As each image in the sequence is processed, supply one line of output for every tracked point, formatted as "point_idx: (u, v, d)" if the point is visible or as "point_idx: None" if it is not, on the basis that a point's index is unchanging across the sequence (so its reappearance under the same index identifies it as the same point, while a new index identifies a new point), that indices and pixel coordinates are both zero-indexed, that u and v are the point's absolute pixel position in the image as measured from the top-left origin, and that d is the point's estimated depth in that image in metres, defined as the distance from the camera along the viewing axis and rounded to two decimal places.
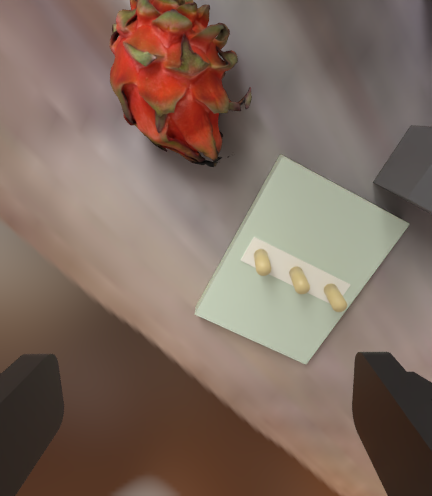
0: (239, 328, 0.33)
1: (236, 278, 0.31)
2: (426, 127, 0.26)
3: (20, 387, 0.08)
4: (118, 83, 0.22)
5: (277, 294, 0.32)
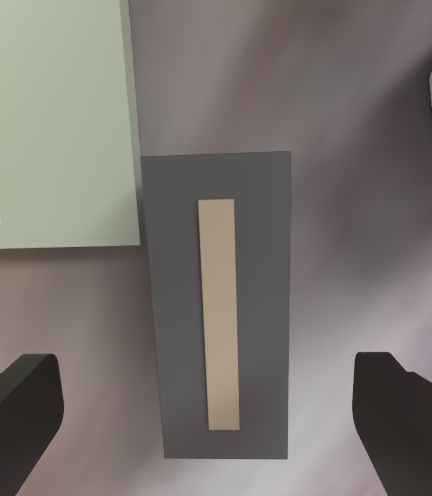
0: None
1: None
2: None
3: (20, 387, 0.08)
4: None
5: None
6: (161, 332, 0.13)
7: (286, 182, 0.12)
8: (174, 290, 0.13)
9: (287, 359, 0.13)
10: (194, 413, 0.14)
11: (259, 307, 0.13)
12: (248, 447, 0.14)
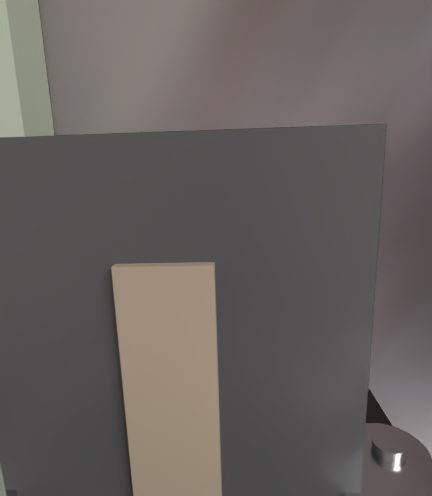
0: None
1: None
2: None
3: None
4: None
5: None
6: None
7: (367, 217, 0.04)
8: (64, 486, 0.05)
9: None
10: None
11: None
12: None
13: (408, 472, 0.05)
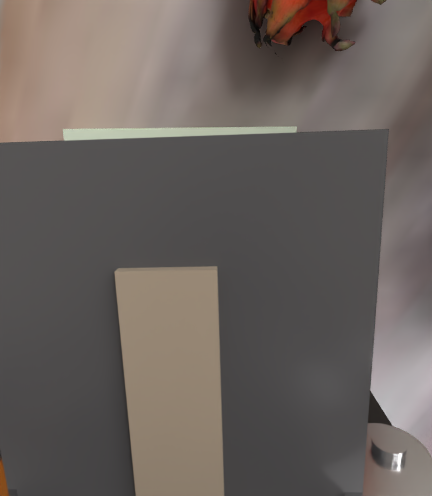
0: None
1: None
2: None
3: None
4: None
5: None
6: None
7: (370, 222, 0.04)
8: (66, 489, 0.05)
9: None
10: None
11: None
12: None
13: (408, 472, 0.05)
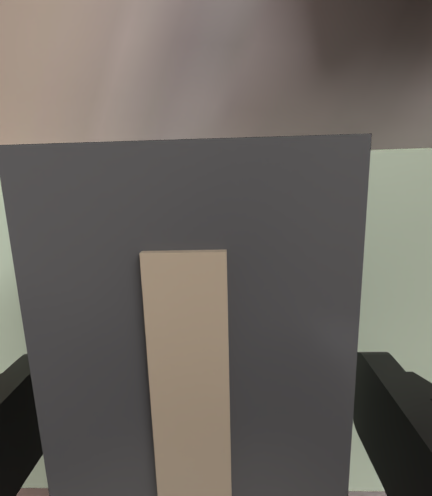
0: None
1: None
2: None
3: (21, 387, 0.08)
4: None
5: None
6: None
7: (356, 211, 0.05)
8: (93, 445, 0.06)
9: None
10: None
11: (282, 483, 0.06)
12: None
13: None
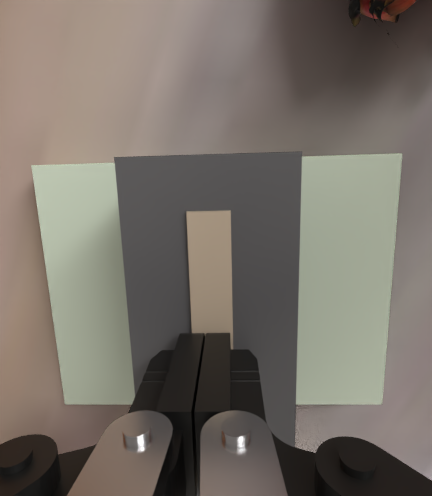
0: (58, 261, 0.17)
1: None
2: None
3: (200, 359, 0.09)
4: None
5: None
6: (141, 371, 0.11)
7: (296, 190, 0.10)
8: (157, 321, 0.11)
9: (294, 404, 0.11)
10: None
11: (261, 342, 0.11)
12: None
13: (242, 453, 0.06)
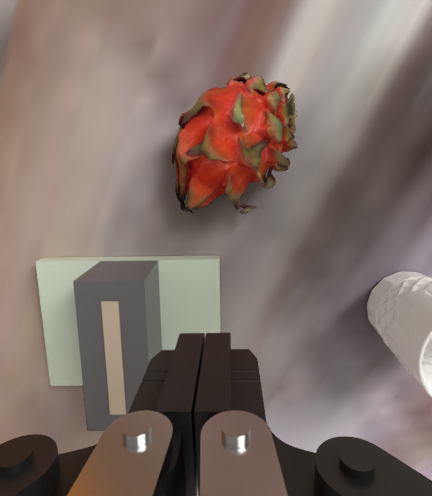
0: (48, 309, 0.32)
1: None
2: (152, 267, 0.28)
3: (200, 360, 0.09)
4: (207, 101, 0.24)
5: None
6: (84, 364, 0.26)
7: (142, 294, 0.25)
8: (90, 343, 0.26)
9: None
10: (102, 406, 0.27)
11: (133, 352, 0.26)
12: None
13: (242, 453, 0.06)
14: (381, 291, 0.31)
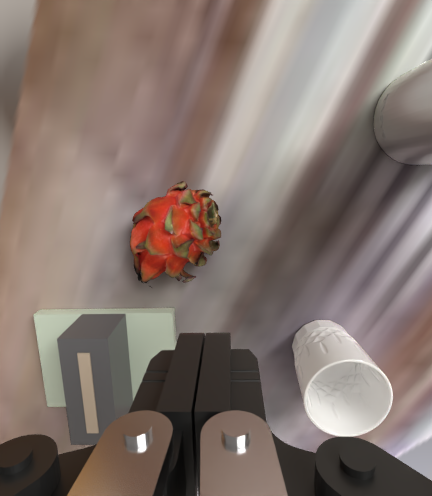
0: (44, 349, 0.41)
1: None
2: (118, 322, 0.38)
3: (200, 360, 0.09)
4: (149, 211, 0.33)
5: None
6: (67, 396, 0.36)
7: (107, 348, 0.34)
8: (71, 382, 0.35)
9: (114, 407, 0.36)
10: (81, 427, 0.37)
11: (102, 388, 0.35)
12: None
13: (242, 453, 0.06)
14: (299, 337, 0.40)
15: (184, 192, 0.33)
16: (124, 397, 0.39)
